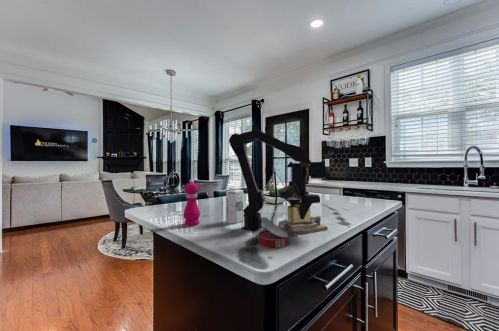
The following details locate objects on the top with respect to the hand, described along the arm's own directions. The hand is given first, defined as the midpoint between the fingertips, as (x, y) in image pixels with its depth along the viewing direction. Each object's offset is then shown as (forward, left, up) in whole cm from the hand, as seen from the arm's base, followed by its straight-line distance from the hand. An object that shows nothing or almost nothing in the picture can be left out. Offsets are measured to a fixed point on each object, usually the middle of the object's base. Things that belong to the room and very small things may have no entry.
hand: (299, 218), depth 97 cm
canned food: (-1, -19, -5) cm, 20 cm away
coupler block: (0, 0, -1) cm, 1 cm away
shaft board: (0, 0, -5) cm, 5 cm away
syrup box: (-30, -3, -5) cm, 31 cm away
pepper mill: (-43, -17, -5) cm, 46 cm away
